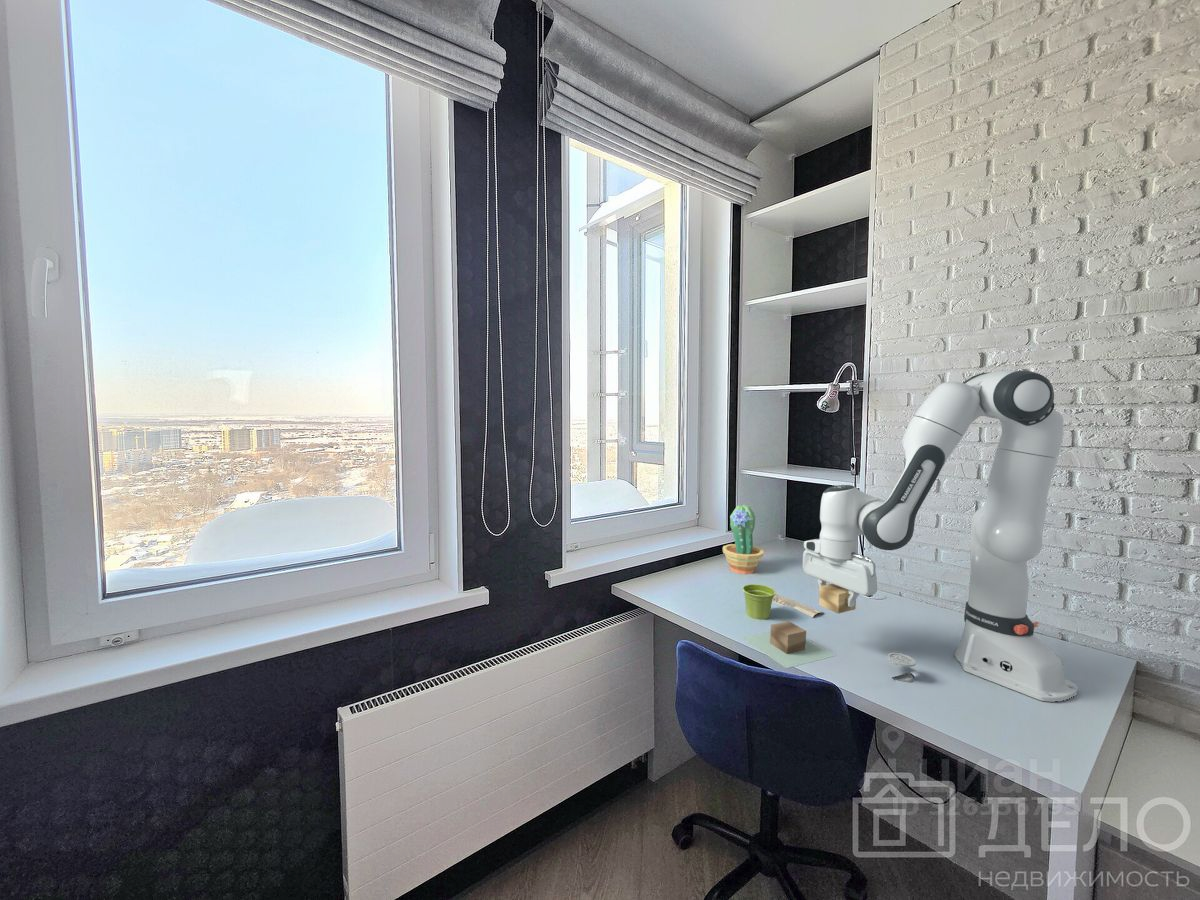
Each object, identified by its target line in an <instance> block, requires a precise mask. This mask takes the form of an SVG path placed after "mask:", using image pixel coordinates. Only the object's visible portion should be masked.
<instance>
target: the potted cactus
mask: <svg viewBox="0 0 1200 900" xmlns="http://www.w3.org/2000/svg"><path fill="white" fill-rule="evenodd" d="M729 519H730V521H729V522H730V524H729V525H730V529H731V531H732V535H733V539H734V543H730V544H726V545H723V546H722V553H723V554H724V555H725V559H726V561H727V563H728V565H729V569H730V571H731V572H733V573H737V574H740V575H742V574H743V575H747V574H748V575H751V574H753V573H755V569H756V567H757V566H758V565H759V563H760V561H761V560H762V558H763V557H764V554H765V552H764V549H762V548H761V547H758V546H755V545H754V542H753V539H754V537H753V533H754V530H755V525H756V515H755V513H754V511H753V510H752V508H751V507H750V505H746V504H742V505H741V504H738V505H736V507H735V508H734V510H733V511H732V513H731V514H730V516H729Z"/></svg>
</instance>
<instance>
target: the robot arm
mask: <svg viewBox="0 0 1200 900" xmlns="http://www.w3.org/2000/svg"><path fill="white" fill-rule="evenodd" d="M1054 399H1055V392H1054V387H1053V385H1052V382H1051V381H1050V380H1049V379H1048V378H1047V377H1046V376H1045V375H1042V374H1040V373H1038V372H1035V371H1030V370H1015V369H1013V370H1012V369H1008V370H1007V369H1005V370H1004V369H1003V370H997V371H992V372H988V371H987V372H982V373H981V372H980V373H978V374H976V375H973V376H971V377H969V378H968V379H966V380H965V381H963V382H961V381H945V382H942V383H940V384H939V385H937V386H936V387H935V389H933V391H932V392H930V394H929V395H928V396H927V397H926V398H925V400H924V401H923V402H922V403H921V405H920V406H919V408H917V410H916V411H915V413H914V414H913V417H912V418H911V419H910V421H909V423H908V425H907V426H906V428H905V430H904V434H903V436H902V439H901V445H902V449H903V452H904V456H905V457H904V458H905V466H904V469H903V471H902V473H901V475H900V477H899V479H898V481H897V482H896V484H895V486H894V487H893V489H892V491H891V492H890V495H889V497H887V499H886V500H885V499H882V498H879V497H875V496H872V495H869V494H868V493H865V492H864V491H862V490H860V489H859V488H857V487H856V486H855V485H851V484H839V485H832V486H829V487H827V488H826V489H825V490H824V491H823V493H822V495H821V500H820V508H819V509H820V510H819V521H820V525H821V530H820V532H819V538H814V539H809V540H804V542H803V548H804V549H805V550H804V551H803V553H802V570H803V572H804V573H805V575H808V576H811V577H814V578H816V579H817V584H818V585H819V586H824V585H828V584H827V583H829V584H834V585H837V586H840V587H842V588H845V589H848V590H849V594H851V595H850V596H849V598H846V599H845V605H846V606H849V607H854V606H855V599H856V600H857V598H858V596H860V595H861V596H864V597H869V596H873V595H875V594H876V593H877V592H878V579H877V571H876V563H875V562H874V561H873V560H872V559H871V557H869V556H865V555H862V554H859V552H858V551H859V550H858V549H859V536H864V537H865V539H866V540H867V542H868V543H869V544H870V545H872V546H873V547H875V548H876V549H879V550H882V551H895V550H899V549H902V548H904V547H905V546H906V545H907V544H908V543H910V541H911V539H912V537H913V536H914V535H913V534H914V531H915V524H916V523H915V521H916V517H917V514H918V512H919V510H920V508H921V506H922V504H923V503H924V501H925V500H926V498H927V496H928V494H929V493H930V491H931V488H932V487H933V486H934V484H935V482H936V480H937V479H938V476H940V475H939V474H940V472H941V470H942V469H943V468H944V466H945V464H946V463H947V461H948V460H949V458H950V456H951V455H952V454H953V452H954V450H955V449H956V447H957V446H958V445H959V443H960V442H961V440H962V438H963V437H964V436H965V434H966V432H968V429H969V427H970V426H971V425H972V424H973V422H975V421H976V420H977V419H978V418H980V417H986V418H990V419H998V420H999V422H1000V425H1001V434H1000V438H999V440H998V443H997V446H996V447H997V448H996V449H995V450H996V451H995V454H994V457H993V462H992V464H991V467H990V471H989V476H988V479H987V491H986V498H985V505H983V506H981V507H980V508H978V509H977V510H976V511H975V512H974V513H973V515H972V517H971V522H970V541H969V542H970V543H969V544H970V550H969V551H970V574H969V575H970V576H969V589H968V597H967V601H966V602H965V606H964V608H965V609H964V615H963V620H964V621H963V622H964V628H963V631H962V632H963V633H962V635H961V639H960V641H959V645H958V647H957V649H956V650H955V652H954V656H955V659H956V660H957V661H958V662H959V663H960V664H961V665H962V666H961V667H962V670H963V671H965V672H967V673H969V674H972V675H975V676H977V677H978V678H982V679H985V680H987V681H990V682H991V683H995V684H998V685H1000V686H1003V687H1005V688H1008V689H1010V690H1013V691H1015V692H1018V693H1020V694H1023V695H1026V696H1029V697H1031V698H1033V699H1036V700H1039V701H1043V702H1048V703H1050V702H1052V703H1053V702H1055V701H1058V702H1064V701H1067V700H1066V699H1068V700H1070V699H1072V698H1074V697H1075V696H1074V695H1075V694H1076V693H1077V694H1078V687H1077V684H1076V683H1074V682H1073V681H1071V680H1069V679H1067V678H1066V676H1065V667H1064V664H1063V662H1062V661H1063V660H1061V658H1060V657H1059V656H1058V655H1057V654H1055V653H1054V652H1053V650H1052V649H1050V648H1049V647H1048V646H1047V645H1046V643H1044V642H1043V641H1042V640H1041V639H1040V638H1039V637H1038V636H1037V635H1036V634H1035V633H1034V632H1035V631H1034V630H1035V628H1037V627H1039V623H1040V622H1039V621H1034V622H1032V620H1031V619H1030V618H1029V616H1028V614H1027V608H1028V598H1029V589H1030V588H1029V587H1030V579H1029V573H1028V562H1029V561H1030V560H1032V559H1034V558H1035V557H1037V556H1038V555H1039V554H1040V552H1041V550H1042V548H1043V534H1044V528H1045V520H1046V514H1047V503H1048V495H1049V490H1050V487H1051V483H1052V480H1053V476H1054V472H1055V470H1056V465H1057V463H1058V458H1059V457H1060V452H1061V450H1062V449H1061V448H1062V443H1063V436H1064V421H1065V420H1064V417H1063V415H1062V414H1061V412H1059V411H1057V409H1055V402H1054ZM819 586H818V587H819ZM1077 694H1076V695H1077ZM1073 696H1074V697H1073ZM1071 697H1072V698H1071ZM1069 698H1070V699H1069ZM1063 700H1064V701H1063Z"/></svg>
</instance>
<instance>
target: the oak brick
mask: <svg viewBox="0 0 1200 900" xmlns="http://www.w3.org/2000/svg"><path fill="white" fill-rule="evenodd" d="M818 587H819V588H818V589H819V591H818V593H819V597H818V600H819V601H818V602H819V603H818V604H819V606H821V607H823V608H825V609H827V610H829V611H832V612H834V613H836V614H841V613H846V612H849V611H854V610H856V609H857V608H856V607H857V604H856V602H857V598H856V599H855V606H854V607H849V606H846V605H845V599H846V598H849V596H850V595H851V594H849V590H848V589H845V588H842V587H840V586H837V585H834V584H832V583H829V584H827V585H824V586H818Z"/></svg>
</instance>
